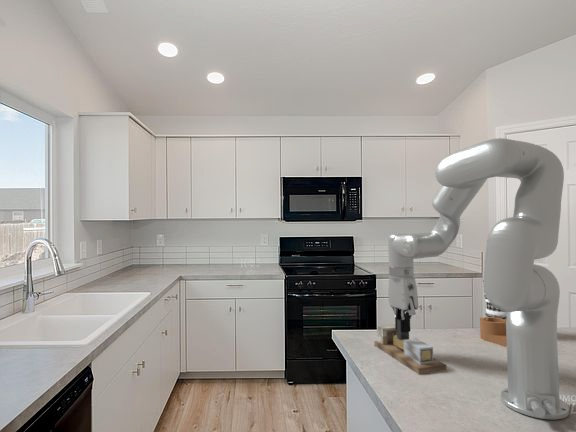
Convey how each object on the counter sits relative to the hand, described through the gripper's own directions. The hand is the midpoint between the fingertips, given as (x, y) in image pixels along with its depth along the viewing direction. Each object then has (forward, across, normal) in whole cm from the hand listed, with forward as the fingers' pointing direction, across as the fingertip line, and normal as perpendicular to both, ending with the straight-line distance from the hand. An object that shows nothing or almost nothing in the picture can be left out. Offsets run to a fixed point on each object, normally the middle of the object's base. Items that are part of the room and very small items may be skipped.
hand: (402, 330), depth 112 cm
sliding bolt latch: (+8, -2, 0) cm, 8 cm away
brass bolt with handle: (+5, -4, 0) cm, 7 cm away
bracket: (+8, -2, -39) cm, 40 cm away
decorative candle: (+8, +8, -45) cm, 47 cm away
